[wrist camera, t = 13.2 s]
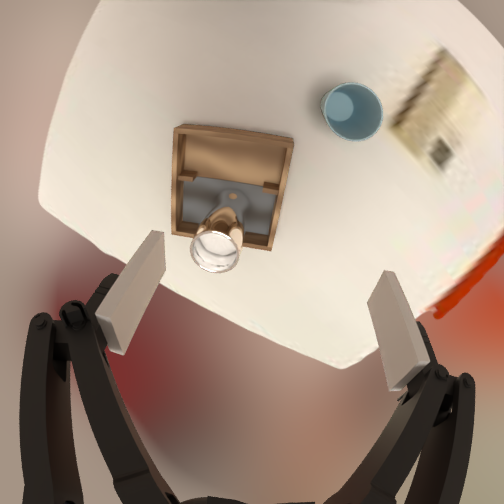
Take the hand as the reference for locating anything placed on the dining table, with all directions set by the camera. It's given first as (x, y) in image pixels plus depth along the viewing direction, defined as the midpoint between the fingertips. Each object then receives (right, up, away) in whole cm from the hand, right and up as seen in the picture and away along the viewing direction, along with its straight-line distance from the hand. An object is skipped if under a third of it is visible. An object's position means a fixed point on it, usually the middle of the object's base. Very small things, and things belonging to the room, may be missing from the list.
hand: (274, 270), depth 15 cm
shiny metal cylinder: (-5, +9, +32) cm, 34 cm away
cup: (+12, +24, +21) cm, 34 cm away
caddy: (-5, +13, +30) cm, 33 cm away
